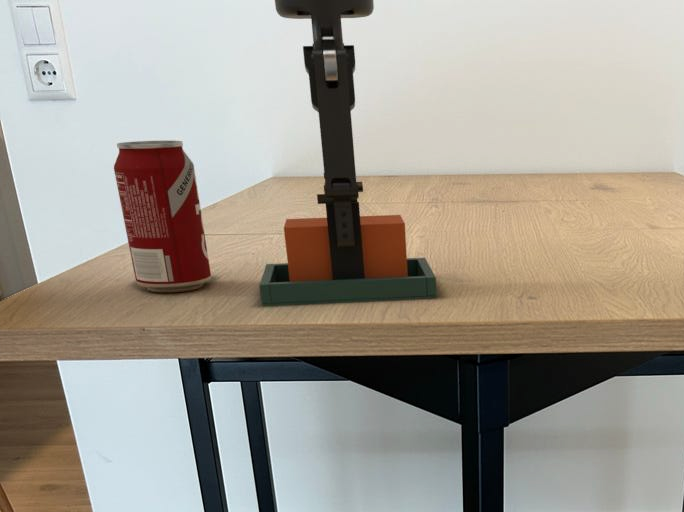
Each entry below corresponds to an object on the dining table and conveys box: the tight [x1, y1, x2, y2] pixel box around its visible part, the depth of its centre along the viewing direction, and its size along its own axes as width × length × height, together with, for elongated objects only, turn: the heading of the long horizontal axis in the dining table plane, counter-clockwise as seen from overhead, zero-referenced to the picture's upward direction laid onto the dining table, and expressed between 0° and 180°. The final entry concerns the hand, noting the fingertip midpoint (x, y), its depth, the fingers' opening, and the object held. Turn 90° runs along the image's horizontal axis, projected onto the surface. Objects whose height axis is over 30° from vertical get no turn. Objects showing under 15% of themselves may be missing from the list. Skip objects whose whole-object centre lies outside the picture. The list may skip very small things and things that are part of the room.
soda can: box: [113, 140, 212, 294], centre depth 84 cm, size 7×7×12 cm
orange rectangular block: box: [283, 214, 408, 282], centre depth 81 cm, size 10×6×5 cm, turn 98°
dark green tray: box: [258, 257, 437, 307], centre depth 82 cm, size 15×10×2 cm
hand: (348, 279), depth 82 cm, fingers closed on orange rectangular block, 5 cm apart
